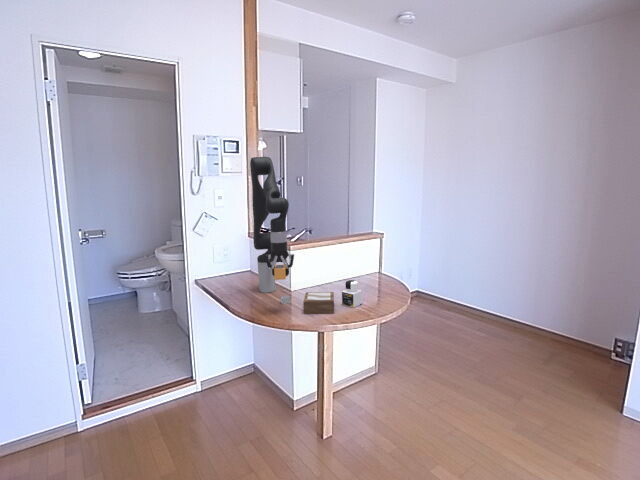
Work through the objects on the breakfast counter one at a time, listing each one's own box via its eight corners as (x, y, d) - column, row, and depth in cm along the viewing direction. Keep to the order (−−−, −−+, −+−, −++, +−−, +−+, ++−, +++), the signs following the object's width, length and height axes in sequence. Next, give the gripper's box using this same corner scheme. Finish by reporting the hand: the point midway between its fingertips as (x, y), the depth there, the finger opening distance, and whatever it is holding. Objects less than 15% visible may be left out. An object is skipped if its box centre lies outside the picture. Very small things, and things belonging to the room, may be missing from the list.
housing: (276, 274, 182) (275, 264, 182) (286, 274, 183) (286, 263, 182) (274, 279, 174) (274, 268, 173) (285, 279, 174) (285, 268, 173)
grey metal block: (280, 301, 194) (280, 296, 194) (288, 301, 195) (288, 295, 195) (282, 304, 190) (281, 298, 190) (289, 303, 191) (289, 297, 191)
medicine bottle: (341, 305, 186) (341, 281, 184) (350, 301, 191) (350, 278, 189) (353, 308, 181) (352, 284, 179) (362, 304, 186) (361, 280, 184)
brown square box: (306, 303, 189) (305, 291, 188) (333, 303, 189) (333, 291, 188) (303, 314, 175) (303, 301, 174) (333, 313, 175) (333, 300, 174)
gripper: (295, 239, 178) (296, 273, 181) (265, 239, 179) (267, 274, 182) (293, 241, 171) (294, 277, 174) (262, 242, 172) (264, 278, 175)
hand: (280, 275), depth 178 cm, fingers closed on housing, 5 cm apart
